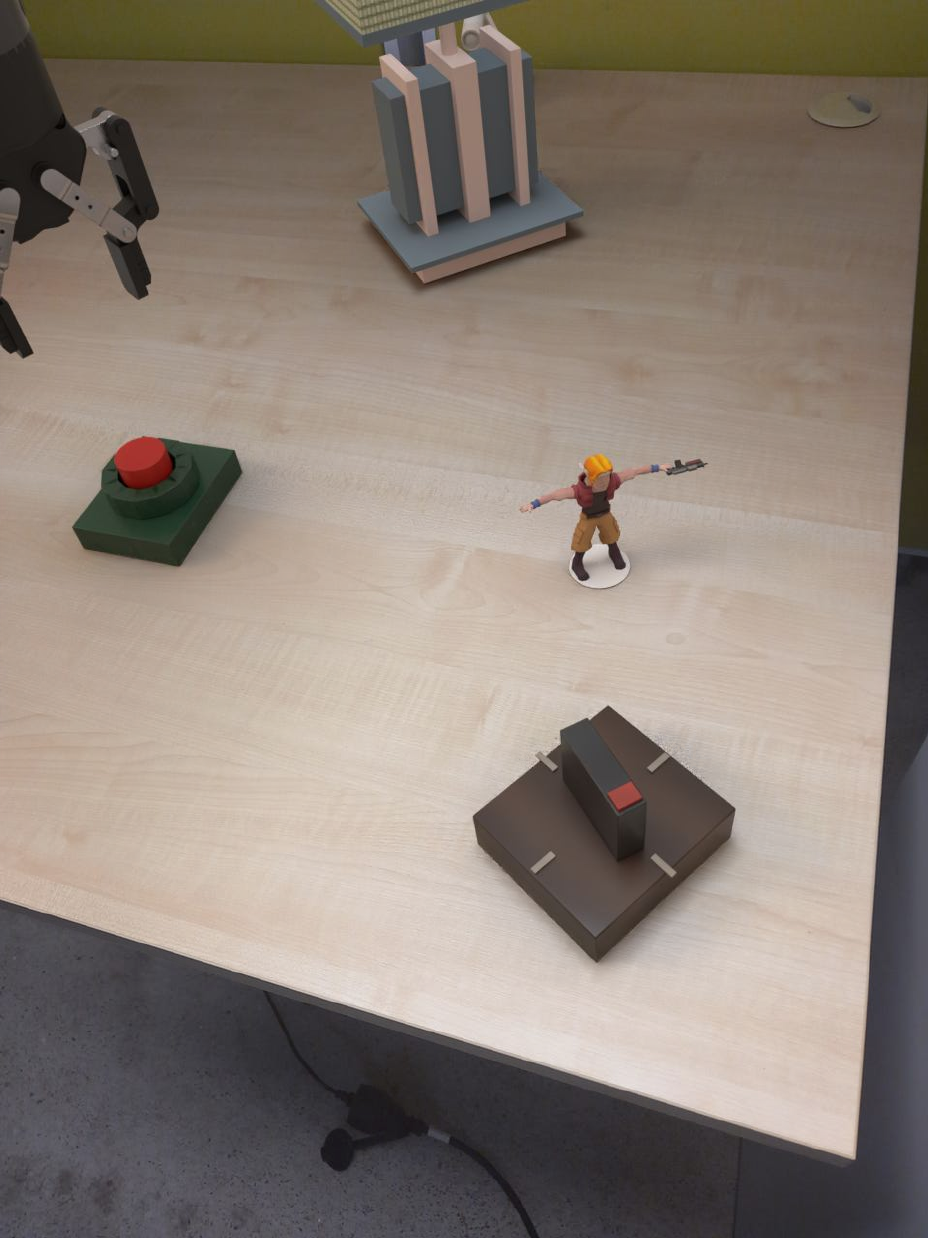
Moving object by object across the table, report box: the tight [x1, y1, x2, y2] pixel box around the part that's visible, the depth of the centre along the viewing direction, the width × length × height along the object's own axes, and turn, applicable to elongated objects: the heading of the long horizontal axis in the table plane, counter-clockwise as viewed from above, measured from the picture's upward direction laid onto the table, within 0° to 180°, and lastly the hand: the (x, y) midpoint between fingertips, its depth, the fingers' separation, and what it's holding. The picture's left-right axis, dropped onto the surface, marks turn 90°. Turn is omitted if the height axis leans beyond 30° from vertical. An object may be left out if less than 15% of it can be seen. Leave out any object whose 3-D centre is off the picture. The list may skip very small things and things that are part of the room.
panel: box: [471, 705, 737, 963], centre depth 53 cm, size 10×10×3 cm
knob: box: [559, 717, 647, 861], centre depth 50 cm, size 6×2×5 cm, turn 26°
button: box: [114, 436, 173, 489], centre depth 72 cm, size 4×4×2 cm
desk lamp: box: [313, 0, 585, 284], centre depth 84 cm, size 18×14×33 cm
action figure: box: [518, 453, 708, 589], centre depth 64 cm, size 12×3×9 cm, turn 107°
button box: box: [71, 435, 243, 567], centre depth 74 cm, size 10×8×4 cm
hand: (81, 321), depth 63 cm, fingers open, 7 cm apart
